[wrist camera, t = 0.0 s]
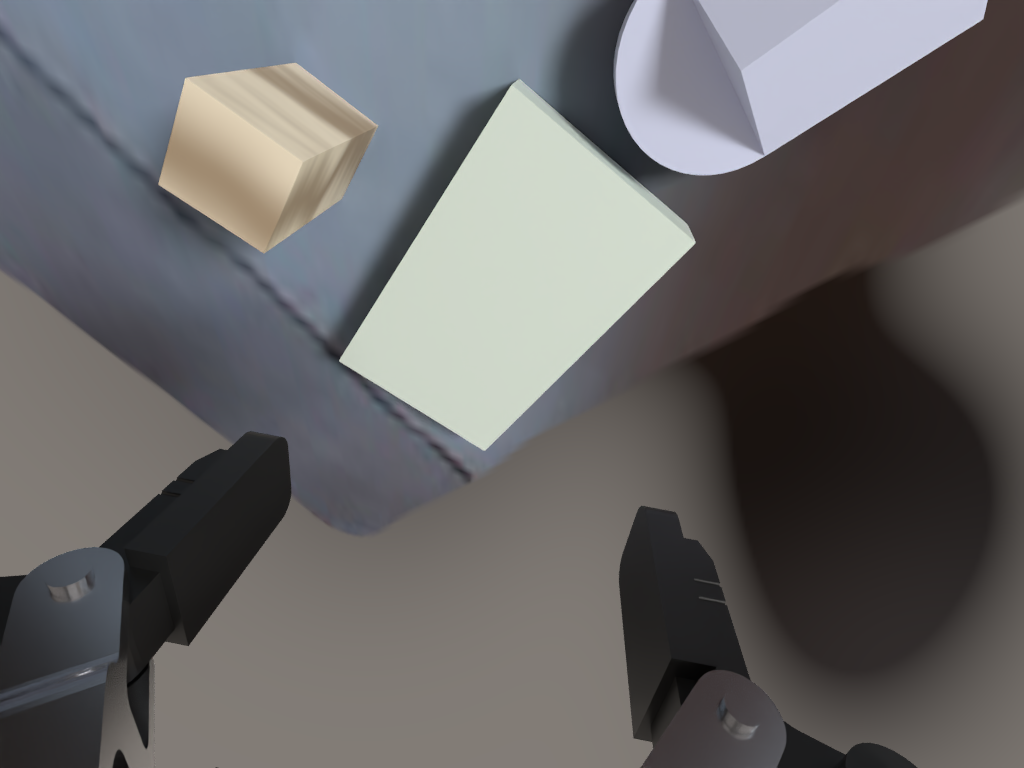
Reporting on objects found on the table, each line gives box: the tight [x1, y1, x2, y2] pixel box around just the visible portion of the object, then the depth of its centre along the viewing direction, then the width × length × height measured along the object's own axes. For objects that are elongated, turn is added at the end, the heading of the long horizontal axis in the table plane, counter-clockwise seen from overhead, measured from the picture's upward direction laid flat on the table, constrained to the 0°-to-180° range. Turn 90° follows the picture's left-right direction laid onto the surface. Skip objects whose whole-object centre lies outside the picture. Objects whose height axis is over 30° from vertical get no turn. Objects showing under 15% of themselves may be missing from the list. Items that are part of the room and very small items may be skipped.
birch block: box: [158, 63, 378, 253], centre depth 25 cm, size 5×5×9 cm
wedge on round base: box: [613, 0, 988, 175], centre depth 21 cm, size 9×7×13 cm
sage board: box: [339, 79, 696, 451], centre depth 32 cm, size 20×12×3 cm, turn 144°
